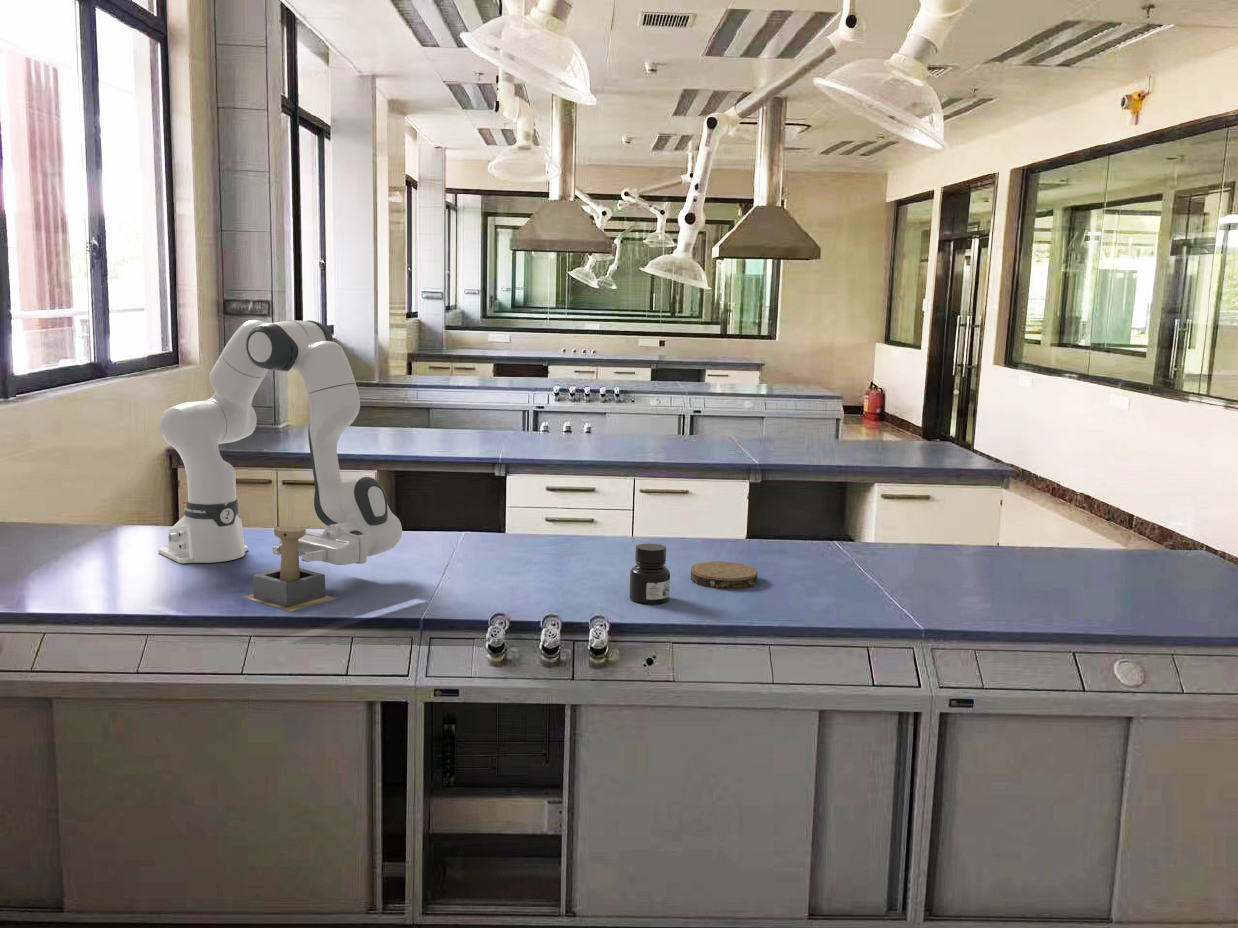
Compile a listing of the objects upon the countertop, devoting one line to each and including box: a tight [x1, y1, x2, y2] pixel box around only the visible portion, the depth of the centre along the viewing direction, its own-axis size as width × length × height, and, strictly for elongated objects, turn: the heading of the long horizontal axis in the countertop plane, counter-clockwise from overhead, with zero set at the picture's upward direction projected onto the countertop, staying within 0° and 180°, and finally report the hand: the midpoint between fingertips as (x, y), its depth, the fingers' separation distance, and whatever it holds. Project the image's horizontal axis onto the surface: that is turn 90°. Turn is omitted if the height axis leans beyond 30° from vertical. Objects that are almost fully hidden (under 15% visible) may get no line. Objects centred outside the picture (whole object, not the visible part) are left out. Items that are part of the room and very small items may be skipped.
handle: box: [273, 525, 307, 582], centre depth 223 cm, size 5×6×15 cm
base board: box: [243, 593, 338, 612], centre depth 224 cm, size 16×12×1 cm
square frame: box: [252, 567, 326, 608], centre depth 224 cm, size 11×10×5 cm
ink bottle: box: [629, 542, 671, 605], centre depth 233 cm, size 10×9×12 cm
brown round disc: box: [690, 560, 758, 591], centre depth 251 cm, size 16×16×3 cm
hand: (289, 554), depth 223 cm, fingers open, 8 cm apart
